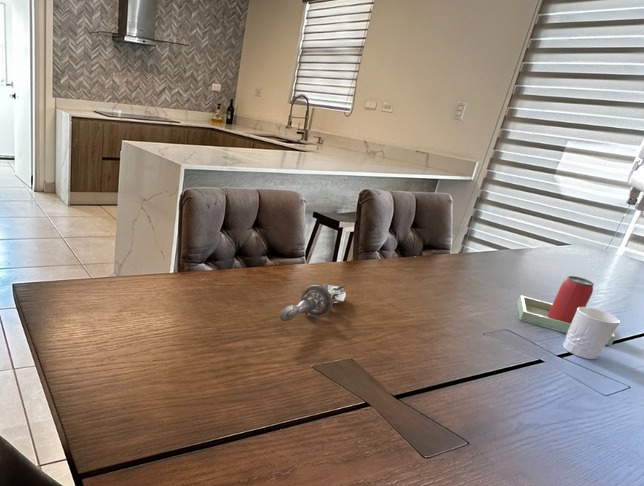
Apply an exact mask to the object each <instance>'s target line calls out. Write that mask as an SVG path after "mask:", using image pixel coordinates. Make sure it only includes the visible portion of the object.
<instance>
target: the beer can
mask: <svg viewBox="0 0 644 486" xmlns="http://www.w3.org/2000/svg"><path fill="white" fill-rule="evenodd" d="M593 292H594V282H592V281H591V280H589V279H586V278H583V277H578V276H575V275H569V276H567V278H566V279H565V280H564V281H562V282H561V285H560V288H559V289H558V291H557V293H556V295H555V297H554V300H553V302H552V303H551V304H552V307H551V309H550V311H549V313H548V317H549V318H552V319H556V320H559V321H563V322H566V323H570V324H571V323H572V320H573V318H574V316H575V313H576V311H577V308H578V307H587V305H588V303H589V301H590V299H591V297H592V294H593Z"/></svg>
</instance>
